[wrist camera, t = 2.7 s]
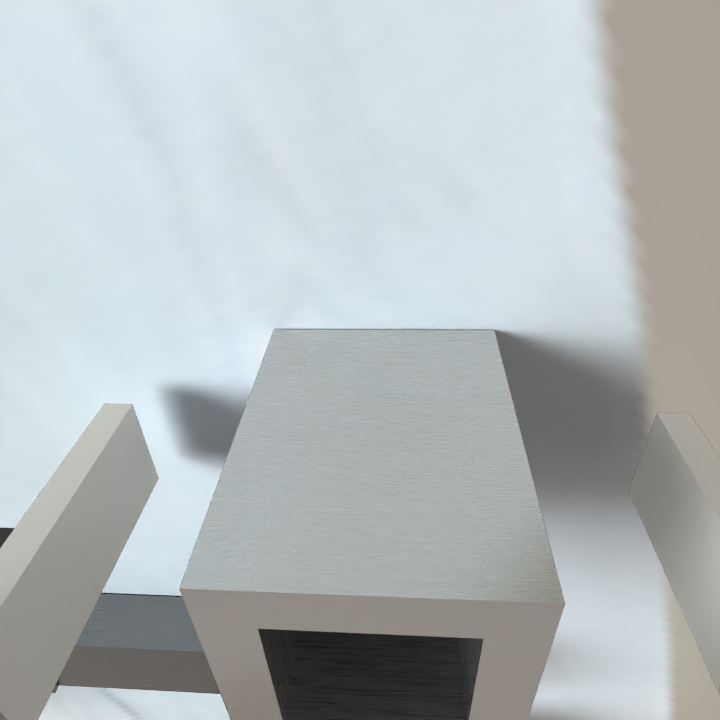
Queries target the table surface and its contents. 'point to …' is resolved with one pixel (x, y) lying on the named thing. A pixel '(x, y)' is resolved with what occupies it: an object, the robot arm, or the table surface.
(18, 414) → the table surface
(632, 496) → the robot arm
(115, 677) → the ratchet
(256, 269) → the table surface
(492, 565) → the socket
